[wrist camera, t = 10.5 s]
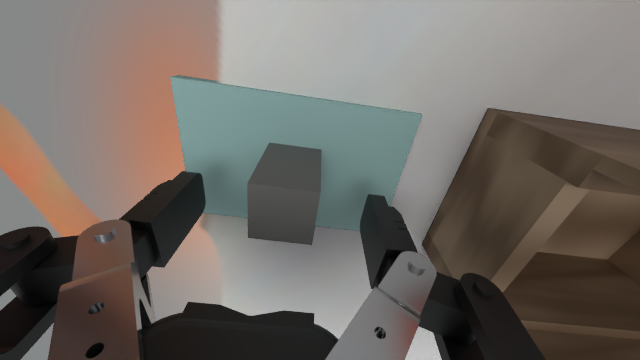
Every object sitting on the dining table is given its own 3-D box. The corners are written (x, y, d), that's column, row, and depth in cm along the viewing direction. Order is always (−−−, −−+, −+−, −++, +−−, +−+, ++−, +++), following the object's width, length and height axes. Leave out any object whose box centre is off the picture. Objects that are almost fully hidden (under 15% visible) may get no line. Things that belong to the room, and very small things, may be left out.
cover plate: (178, 74, 12) (94, 94, 8) (417, 110, 13) (466, 147, 9) (197, 204, 17) (150, 265, 12) (377, 225, 18) (396, 291, 13)
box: (488, 108, 13) (659, 178, 6) (726, 142, 13) (1097, 236, 7) (422, 243, 18) (478, 360, 11) (597, 263, 18) (743, 382, 12)
